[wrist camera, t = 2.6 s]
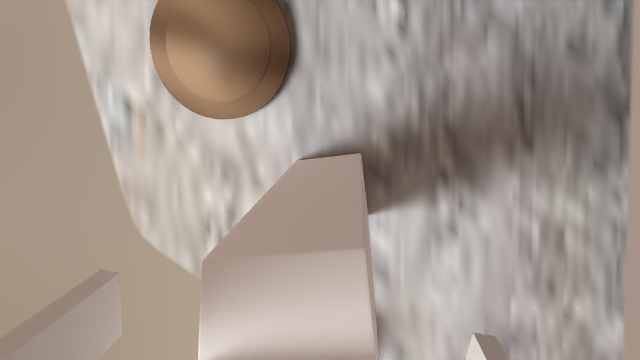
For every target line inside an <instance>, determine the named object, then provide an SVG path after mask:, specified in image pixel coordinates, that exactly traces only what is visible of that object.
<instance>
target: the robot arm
mask: <svg viewBox="0 0 640 360" xmlns="http://www.w3.org/2000/svg"><path fill="white" fill-rule="evenodd" d="M121 316H122V315H121V291H120V273H117V272H111V271H105V270H100V271H98V272H97V273H95V274H94V275H92V276H91V277H89V278H88V279H86V280H85V281H83V282H82V283H81V284H79V285H78V286H76V287H75V288H73V289H72V290H70V291H69V292H67V293H66V294H64V295H63V296H61V297H60V298H58V299H57V300H56V301H54V302H53V303H51V304H50V305H48V306H47V307H45V308H44V309H42V310H41V311H39V312H38V313H36V314H35V315H34V316H32V317H31V318H29V319H28V320H26V321H25V322H24V323H22V324H20V325H19V326H17V327H16V328H14V329H13V330H12V331H10V332H9V333H7V334H6V335H4V336H3V337H1V338H0V360H97V359H98V358H99V357H100V356H101V355H102V354H103V353H104V352H105V351H106V350H107V349H108V348H109V347H110V346H111V345H112V344H113V343H114V342H115V341H116V340H117V339H118V338H119V337H120V336H121V335H122V317H121ZM466 360H509V359H508V357H507V355H506V354H505V352H504V350H503V348H502V347H501V345H500V343H499V342H498V340H497V338H496V337H495V336H489V335H483V334H477V333H473V335H472V339H471V342H470V346H469V350H468V353H467V357H466Z"/></svg>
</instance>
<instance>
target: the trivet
mask: <svg viewBox="0 0 640 360" xmlns="http://www.w3.org/2000/svg"><path fill="white" fill-rule="evenodd" d="M150 49H151V54H152V59H153V62H154V65H155V68H156V71H157V73H158V75H159V77H160V79H161V81H162V82H163V84H164V86H165V87H166V88H167V90H168V91H169V92H170V94H171V95H172V96H173V97H174V98H175V99H176V100H177V101H178V102H180V103H181V104H182V105H183V106H185V107H186V108H188V109H189V110H191V111H193V112H195V113H197V114H199V115H202V116H205V117H209V118H214V119H233V118H238V117H243V116H246V115H249V114H251V113H253V112H255V111H257V110H259V109H260V108H262V107H263V106H264V105H266V104H267V103H268V102H269V101H270V100H271V99H272V98H273V97H274V95H275V94H276V93H277V91H278V90H279V88H280V86H281V85H282V83H283V81H284V78H285V76H286V73H287V70H288V66H289V60H290V36H289V31H288V26H287V23H286V20H285V17H284V15H283V13H282V11H281V9H280V7H279V5H278V4H277V2H276V1H275V0H158V2H157V5H156V7H155V9H154V13H153V16H152V20H151V26H150Z"/></svg>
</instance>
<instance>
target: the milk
mask: <svg viewBox="0 0 640 360" xmlns="http://www.w3.org/2000/svg"><path fill="white" fill-rule="evenodd" d="M198 360H379V349H378V336H377V323H376V310H375V298H374V285H373V272H372V259H371V246H370V234H369V221H368V210H367V201H366V192H365V183H364V174H363V165H362V155H361V153H357V154H348V155H340V156H331V157H323V158H314V159H306V160H297V161H295V163H294V164H293V165H292V166H291V167H290V168H289V169H288V170H287V171H286V172H285V173H284V174H283V175H282V176H281V177H280V179H279V180H278V181H277V182H276V183H275V184H274V185H273V186H272V187H271V188H270V189H269V190H268V191H267V192H266V194H265V195H264V196H263V197H262V198H261V199H260V200H259V201H258V202H257V203H256V204H255V205H254V206H253V207H252V208H251V210H250V211H249V212H248V213H247V214H246V215H245V216H244V217H243V218H242V219H241V220H240V221H239V222H238V223H237V224H236V226H235V227H234V228H233V229H232V230H231V231H230V232H229V233H228V234H227V235H226V236H225V237H224V238H223V239H222V241H221V242H220V243H219V244H218V245H217V246H216V247H215V248H214V249H213V250H212V251H211V252H210V253H209V254H208V255H207V257H206V258H205V259H204V260H203V263H202V277H201V302H200V328H199V352H198Z"/></svg>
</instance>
